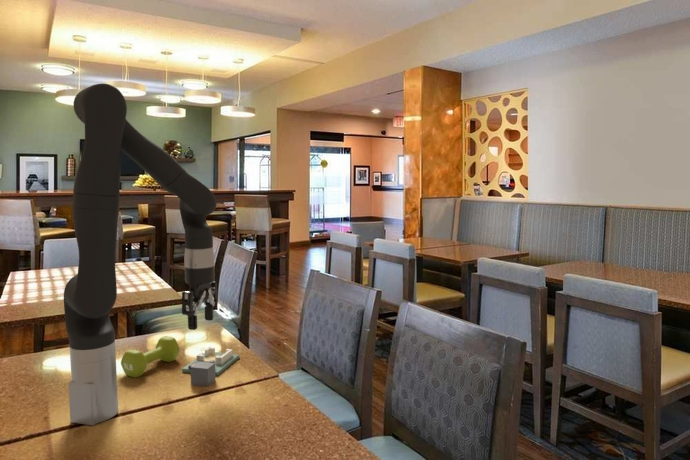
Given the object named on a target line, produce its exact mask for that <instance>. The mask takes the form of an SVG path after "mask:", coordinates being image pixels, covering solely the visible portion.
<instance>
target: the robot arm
mask: <svg viewBox="0 0 690 460" xmlns="http://www.w3.org/2000/svg"><path fill="white" fill-rule="evenodd" d="M126 102H127V101H126V98H125V97H124V94H123V93H122V92H121V91H120V90H119V88H117V87H116V86H115V85H112V84H109V83H106V82H105V83H103V82H100V83H95V84H92V85H90V86H88V87H86V88H84V89H82V90H80V91H79V92H77V94H76V95H75V97H74V100H73V112H74V114H75V115H76V117H77V118H78V119H79V120H80V121H81V123H83V124H84V146H83V147H84V148H83V151H82V155H81V159H80V162H79V165H78V168H77V170H76V175H75V179H74V183H73V192H72V193H73V194H72V208H71V210H72V224H73V229H74V233H75V239H76V243H77V247H78V249H77V250H78V267H77V274H75V275H74V276H73V277H71V278H70V279H69V280H68V281H67V283H66V285H65V287H64V290H63V309H64V319H65V330H66V334H67V336H68V337H67V338H68V343H69V345H68V346H69V356H70V357H69V358H70V359H69V360H70V374H71V375H70V376H71V380H70V381H68V384H67V387H68V399H69V400H68V403H69V405H68V406H69V418H70V423H74V424H80V425H81V424H82V425H88V426H95V425H97V424H99V423H101V422H105V421H107V420H110V419H112V418H113V417H115V416H116V415H117V414H118V413H119V400H118V399H119V398H118V379H117V378H118V376H117V358H116V357H117V356H116V355H117V354H116V341H115V340H116V335H115V329H114V326H113V324H112V322H111V318H110V312H111V310H112V309H113V307H114V305H116V301H117V297H118V289H117V288H118V287H117V285H118V284H117V276H116V275H117V271H116V247H117V240H118V239H117V238H118V236H117V235H118V221H119V215H120V214H119V212H120V211H119V210H120V195H121V194H120V193H121V192H120V191H121V189H120V187H121V185H120V184H121V183H120V182H121V152H123V153H124V154H125V155H126V156H127V157H128V158H129V159H131V160H132V161H133V162H134V163H136V165H138V166H139V167H140V168H141V169H142V170H143V171H144V172H145V173H146V174H147V175H148V176H149V177H150V178H151V179H152V180H153V181H154V182H155V183H157V184H158V185H159V186H160V187H161V188H162V189H163V190H164V191H166V192H167V193H169V194H172V195H174V196H176V197H177V198H178V199H179V203H178V204H179V205H178V207H179V212H180V218H181V223H182V226H183V229H184V257H183V258H184V259H183V261H184V283H186V284H188V285H189V290H187V291H186V290H185V291H184V290H182V292H181V314H182V316H183V315H185V316H187V327H188V330H189V331H190V330H192V331H193V330H194V331H196V330H197V329H198V311H199V309H200V308H202V304H203V305H204V320H205V321H213V320H214V307H215V304H216V303H218V300H219V297H218V283H217V281H215V280H216V279H215V277H216V276H215V275H216V274H215V271H216V270H215V252H214V235H213V229H212V227H211V226H210V224H208V222H207V218H206V217H207V216H209V215H211V214H212V213H214V212H215V210H216V207H217V199H216V196H215V194H214V193H213V192H212V191H211V190H210V189H209V188H208V186H206V185H205V184H203V183H202V182H201V181H200V180H198V179H197V178H196V177H194V176H193V175H191V174H189V173H188V171H186V170H185V168H184V167H183V166H182V165H181V164H180V163H179V162H177V160H176V159H175V158H174V157H173V156H171V154H169V153H168V152H167V151H166V150H165V149H164V148H162V147H161V146H159V145H158V144H156V143H155V142H154V141H152V140H150V139H149V138H148V137H146V136H145V135H144V134H142V133H141V132H140V131H139V130H138V129H136V128H135V127H134V126H133V125H132V124H131V123H130V122H129V121H128V120H127V118H126V117H127V113H128V112H127V111H128V107H127V103H126Z"/></svg>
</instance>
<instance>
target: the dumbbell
mask: <svg viewBox="0 0 690 460" xmlns="http://www.w3.org/2000/svg"><path fill="white" fill-rule="evenodd" d="M180 352H181V350H180V346H179V344H178V341H177V339H176V338H175V337H172V336H168V335H167V336H162V337H160V338H159V339H158V341H157V343H156V345H155V348H154V349H151V350H148V351H146V352H144V353H143V352H142V351H141V350H138V349H129V350H126V351H125V352H124V354H123V355H122V358H121V360H120V364H121V368H122V370H123V373H124V374H125V375H126V376H127V377H130V378H139V377H142V375H143V374H144V373H145V371H146V369H147V366H148V364H150V363H152V362H154V361H156V360H158V359H159V360H161V361H163V362H167V363H171V362H174V361H176V359H177V358H178V357H179V353H180Z"/></svg>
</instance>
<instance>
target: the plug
mask: <svg viewBox="0 0 690 460" xmlns="http://www.w3.org/2000/svg"><path fill="white" fill-rule="evenodd" d="M214 381H215V382H216V376H215V363H208V362H197V363H196V364H193V365H192V366H191V373H190V385H191V386H196V387H198V386H199V387H208V388H209V387H210V386H211V385H212V384H214V383H215V382H214Z"/></svg>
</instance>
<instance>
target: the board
mask: <svg viewBox="0 0 690 460" xmlns="http://www.w3.org/2000/svg"><path fill="white" fill-rule="evenodd" d="M215 348H216V347H211V346H210V347H207V348H206V349H204V352H199V353H198V354H196V359H194V360H192V361H191V362H189V363H188V364H187V365H185V366H183V367H182V368H181V372H182V373H188V374H191V366H192V365H193V364H196V363H197V362H208V363H215V377H217V376H218V377H219V375H220V374H222V373H223V372H224V371H225V370H226V369H228V368H229V367H230V366H231V365H233V364H234V363H235V362H236V361H237V360H239V359H240V356H241V355H240V354H237V353H234V349H232V348H231V349H230V348H226V349H225V352H216V349H215Z"/></svg>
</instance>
